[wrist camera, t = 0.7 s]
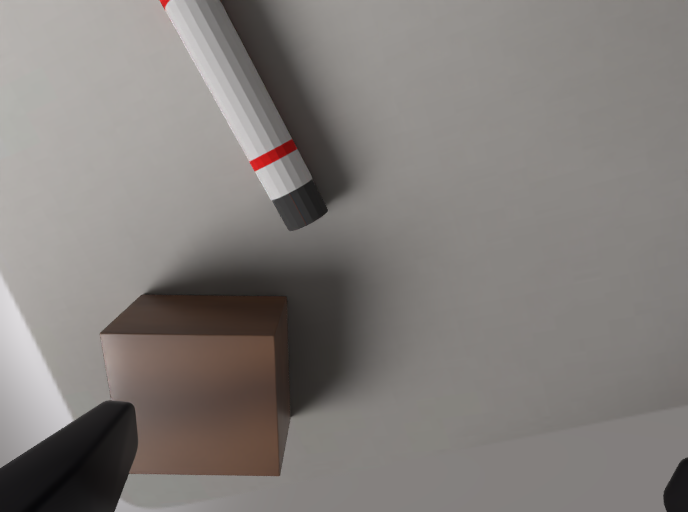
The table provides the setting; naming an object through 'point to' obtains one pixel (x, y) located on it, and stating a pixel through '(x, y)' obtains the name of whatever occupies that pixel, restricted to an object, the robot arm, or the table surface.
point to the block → (203, 382)
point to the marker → (247, 108)
